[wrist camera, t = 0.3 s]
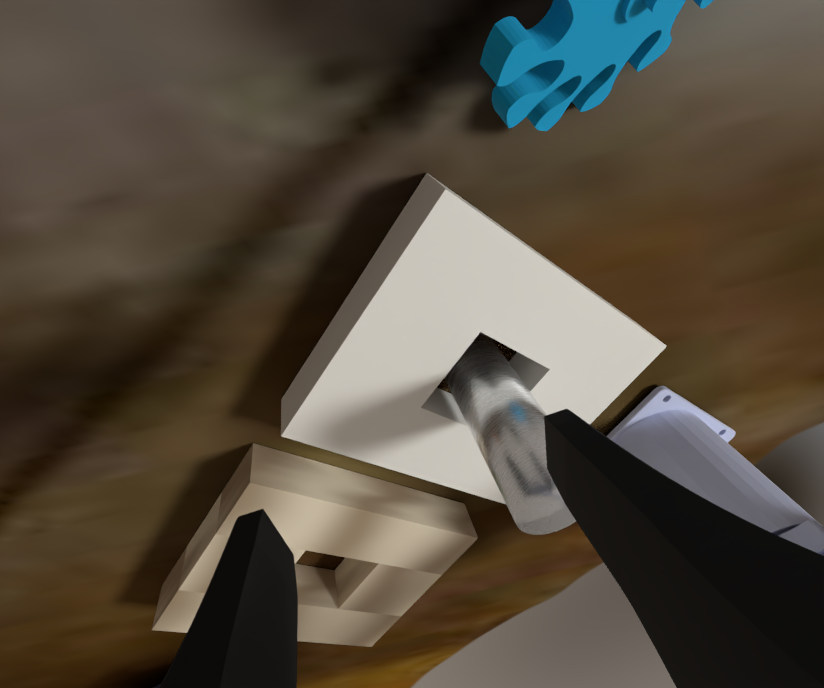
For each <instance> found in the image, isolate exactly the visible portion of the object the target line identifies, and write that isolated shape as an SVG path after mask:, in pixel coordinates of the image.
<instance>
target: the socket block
mask: <svg viewBox="0 0 824 688" xmlns="http://www.w3.org/2000/svg"><path fill="white" fill-rule="evenodd" d="M480 332H482V333H483V334H485V335H487V336H489V337H491V338H493V339H495V340H496V341H498V342H500V343H502V344H504V345H506V346H507V347H509V348H511V349H513V350H515V351H517V353H516V354H515V355H514V356H513V357H512V358H511V360H510V361H509V363H510V365H511V366H512V368H513V369H514V370H515V372H516V373H517V375H518V376H519V377H520V379H521V380H522V381H523V383H524V384H525V386H526V387H527V388H528V390H529V391H530V392H531V394H532V395H533V397H534V398H535V399H536V401H537V402H538V403H539V405H540V406H541V408H542V409H543V410H544V412H545V413H546V415H549V414H552V413H555V412H558V411H561V410H564V409H568V410H570V411H572V412H573V413H574V414H576V415H577V416H579V417H580V418H581V419H583V420H584V421H585V422H587V423H588V424H591V423H592V422H593V421H594V420H595V419H596V418H597V417H598V416H599V415H600V414H601V413H602V412H603V411H604V410H605V409H606V408H607V407H608V406H609V405H610V404H611V403H612V402H613V401H614V399H615V398H616V397H617V396H618V395H619V394H620V393H621V392H622V391H623V390H624V389H625V388H626V387H627V386H628V385H629V384H630V383H631V382H632V381H633V380H634V379H635V378H636V377H637V376H638V375H639V374H640V373H641V372H642V371H643V370H644V369H645V368H646V367H647V366H648V365H649V364H650V363H651V362H652V361H653V360H654V359H655V358H656V357H657V356H658V355H659V354H660V353H661V352H662V351H663V350H664V349H665V348H666V347H667V346H666V345H665V344H664V343H662V342H661V341H660V340H658V339H657V338H656V337H654V336H653V335H652V334H650V333H649V332H648V331H647V330H645V329H644V328H643V327H641V326H640V325H639V324H637V323H636V322H635V321H633V320H632V319H631V318H629V317H628V316H626V315H625V314H624V313H622V312H621V311H619V310H618V309H617V308H615V307H614V306H612V305H611V304H610V303H608V302H607V301H605V300H604V299H603V298H601V297H600V296H598V295H597V294H596V293H594V292H593V291H591V290H590V289H589V288H587V287H586V286H584V285H583V284H582V283H580V282H579V281H577V280H576V279H575V278H573V277H572V276H570V275H569V274H568V273H566V272H565V271H563V270H562V269H561V268H559V267H558V266H556V265H555V264H554V263H552V262H551V261H549V260H548V259H547V258H545V257H544V256H542V255H541V254H540V253H538V252H537V251H535V250H534V249H533V248H531V247H530V246H528V245H527V244H526V243H524V242H523V241H521V240H520V239H519V238H517V237H516V236H514V235H513V234H512V233H510V232H509V231H507V230H506V229H505V228H503V227H502V226H500V225H499V224H498V223H496V222H495V221H493V220H492V219H491V218H489V217H488V216H486V215H485V214H484V213H482V212H481V211H479V210H478V209H477V208H475V207H474V206H472V205H471V204H470V203H468V202H467V201H465V200H464V199H463V198H461V197H460V196H458V195H457V194H456V193H454V192H453V191H451V190H450V189H449V188H447V187H446V186H444V185H443V184H442V183H440V182H439V181H437V180H436V179H435V178H433V177H432V176H430V175H429V174H428V173H426V175H425V176H424V178H423V179H422V181H421V182H420V184H419V185H418V187H417V189H416V190H415V192H414V193H413V195H412V196H411V198H410V199H409V201H408V203H407V204H406V206H405V207H404V209H403V210H402V212H401V213H400V215H399V217H398V218H397V220H396V221H395V223H394V224H393V226H392V228H391V229H390V231H389V232H388V234H387V235H386V237H385V238H384V240H383V242H382V243H381V245H380V246H379V248H378V249H377V251H376V252H375V254H374V256H373V257H372V259H371V260H370V262H369V263H368V265H367V266H366V268H365V270H364V271H363V273H362V274H361V276H360V277H359V279H358V281H357V282H356V284H355V285H354V287H353V288H352V290H351V291H350V293H349V295H348V296H347V298H346V299H345V301H344V302H343V304H342V305H341V307H340V309H339V310H338V312H337V313H336V315H335V316H334V318H333V319H332V321H331V323H330V324H329V326H328V327H327V329H326V330H325V332H324V334H323V335H322V337H321V338H320V340H319V341H318V343H317V344H316V346H315V348H314V349H313V351H312V352H311V354H310V355H309V357H308V358H307V360H306V362H305V363H304V365H303V366H302V368H301V369H300V371H299V372H298V374H297V376H296V377H295V379H294V380H293V382H292V383H291V385H290V387H289V388H288V390H287V391H286V393H285V394H284V396H283V397H282V399H281V436H282V437H285V438H289V439H292V440H295V441H298V442H302V443H305V444H308V445H312V446H315V447H318V448H322V449H325V450H328V451H331V452H335V453H338V454H341V455H345V456H348V457H351V458H355V459H358V460H361V461H364V462H368V463H371V464H374V465H378V466H381V467H384V468H387V469H391V470H394V471H397V472H401V473H404V474H407V475H411V476H414V477H417V478H420V479H424V480H427V481H430V482H434V483H437V484H440V485H444V486H447V487H450V488H453V489H457V490H460V491H463V492H467V493H470V494H473V495H477V496H480V497H483V498H486V499H490V500H493V501H496V502H500V503H503V504H506V503H505V501H504V499H503V496H502V494H501V492H500V490H499V488H498V486H497V484H496V482H495V480H494V478H493V476H492V474H491V472H490V470H489V468H488V466H487V464H486V462H485V460H484V458H483V456H482V454H481V452H480V450H479V448H478V446H477V444H476V442H475V439H474V437H473V435H472V433H471V431H470V429H469V427H468V425H467V423H466V421H465V419H464V417H463V415H462V413H461V411H460V409H459V407H458V405H457V403H456V401H455V399H454V397H453V395H452V394H451V393H448V392H446V391H444V390H441V389H439V388H437V386H438V385H439V384H440V383H441V381H442V380H443V379H444V378H445V376H446V375H447V374H448V372H449V371H450V370H451V369H452V367H453V366H454V365H455V364H456V362H457V361H458V360H459V359H460V357H461V356H462V355H463V354H464V352H465V351H466V350H467V348H468V347H469V346H470V345H471V343H472V342H473V341H474V340H475V338H476V337H477V336H478V335H479V333H480Z"/></svg>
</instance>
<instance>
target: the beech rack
mask: <svg viewBox="0 0 824 688" xmlns="http://www.w3.org/2000/svg"><path fill="white" fill-rule="evenodd" d="M260 509H264V511H265V512H266V514H267V515H268V517H269V518H270V520H271V521H272V523H273V524H274V526H275V527H276V529H277V530H278V532H279V533H280V535H281V536H282V538H283V539H284V541H285V542H286V544H287V545H288V547H289V548H290V550H291V551H292V553H293V554H294V563H296V562H297V561H298V560H299V558H300V557H301V556H302V554H303V553H304V552H305V551H306V550H307V551H312V552H318V553H324V554H329V555H335V556H340V557H345V558H344V560H343V561H342V562H341V563H340V564H339V566H338V567H337V568H336V569H335V570H330V569H324V568H318V567H312V566H306V565H300V564H295V572H296V582H297V594H298V631H297V641H302V642H316V643H329V644H342V645H355V646H369V647H371V646H372V645H373V644H374V643H375V642H376V641H377V640H378V639H379V638H380V637H381V636H382V635H383V634H384V633H385V632H386V631H387V630H388V629H389V628H390V627H391V626H392V625H393V624H394V623H395V622H396V621H397V620H398V619H399V618H400V617H401V616H402V615H403V614H404V613H405V612H406V611H407V610H408V609H409V608H410V607H411V606H412V605H413V604H414V603H415V602H416V601H417V600H418V599H419V598H420V597H421V596H422V595H423V594H424V593H425V592H426V591H427V590H428V589H429V588H430V586H431V585H432V584H433V583H434V582H435V581H436V580H437V579H438V578H439V577H440V576H441V575H442V574H443V573H444V572H445V571H446V570H447V569H448V568H449V567H450V566H451V565H452V564H453V563H454V562H455V561H456V560H457V559H458V558H459V557H460V556H461V555H462V554H463V553H464V552H465V551H466V550H467V549H468V548H469V547H470V546H471V545H472V544H473V543H474V542H475V541H476V540H477V539H478V537H477V534H476V532H475V529H474V527H473V524H472V521H471V519H470V516H469V514H468V511H467V509H466V506H465V504H464V503H460V502H457V501H453V500H450V499H446V498H443V497H440V496H436V495H433V494H429V493H426V492H422V491H419V490H415V489H412V488H408V487H405V486H401V485H398V484H394V483H391V482H387V481H384V480H380V479H377V478H373V477H370V476H366V475H363V474H359V473H356V472H352V471H349V470H345V469H342V468H338V467H335V466H331V465H328V464H324V463H321V462H317V461H314V460H310V459H307V458H303V457H300V456H296V455H293V454H289V453H286V452H283V451H279V450H276V449H272V448H269V447H265V446H262V445H258V444H255V443H253V444H252V446H251V447H250V449H249V450H248V452H247V454H246V455H245V457H244V458H243V460H242V461H241V463H240V464H239V466H238V468H237V469H236V471H235V472H234V474H233V475H232V477H231V478H230V480H229V482H228V483H227V485H226V486H225V488H224V489H223V491H222V493H221V494H220V496H219V497H218V499H217V500H216V502H215V503H214V505H213V507H212V508H211V510H210V511H209V513H208V514H207V516H206V517H205V519H204V521H203V522H202V524H201V525H200V527H199V528H198V530H197V531H196V533H195V535H194V536H193V538H192V539H191V541H190V542H189V544H188V546H187V547H186V549H185V550H184V552H183V553H182V555H181V556H180V558H179V560H178V561H177V563H176V564H175V566H174V567H173V569H172V570H171V572H170V574H169V575H168V577H167V578H166V580H165V581H164V583H163V584H162V588H161V592H160V596H159V601H158V605H157V609H156V614H155V618H154V622H153V627H152V630H156V631H170V632H183V633H187V632H188V630H189V628H190V626H191V624H192V621H193V619H194V617H195V615H196V613H197V610H198V608H199V606H200V604H201V602H202V599H203V597H204V595H205V593H206V590H207V588H208V586H209V584H210V581H211V579H212V577H213V574H214V572H215V570H216V567H217V565H218V563H219V560H220V558H221V555H222V553H223V551H224V548H225V546H226V543H227V541H228V538H229V536H230V534H231V531H232V529H233V526H234V524H235V521H236V520H237V518H238V517H239V516H242V515H245V514H248V513H251V512H254V511H257V510H260Z"/></svg>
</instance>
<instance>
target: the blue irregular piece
mask: <svg viewBox="0 0 824 688" xmlns="http://www.w3.org/2000/svg"><path fill="white" fill-rule="evenodd" d="M685 1H686V0H553V3H552V5H551V7H550V9H549V11H548V12H547V14H546V15H545V16H544V18H543V19H542V20H541V21H540V22H539V23H538V24H537V25H535V26H534V27H532V28H530V29H527V30H526V29H525V28H524V27H523V26H522V25H521V24H520V22H519V21H518V20H517V19H516V18H515V17H513V16H508V17H505V18H503V19H501V20H499V21H498V22H497V23H496V24H495V25H494V26H493V28H492V30H491V32H490V34H489V36H488V38H487V41H486V43H485V46H484V49H483V53H482V57H481V61H480V65H481V66H482V67H483V69H484V70H485V71H486V72H487V74H488V75H489V76H490V77H491V79H492V80H493V81H494V82H495V84H496V86H495V88H494V89H493V91H492V105H493V107H494V110H495V111H496V112H497V114H498V115H499V116H500V117H501V119H502V120H503V121H504V123H505V124H506V125H507V126H508V128H512V127H514V126H515V125H517V124H518V123H519V122H521V121H522V120H523V119H524V118H525V117H526V116H527V118H528V119H529V120H530V121H531V123H532V124H533V125H534V126H535V128H536V129H537V130H540V131H547V130H549V129H550V128H551V127H552V126H553V125H554V124H555V123H556V122H557V121H558V120H559V119H560V118H561V116H562V115H563V113H564V112H565V110H566V109H567V107H568V106H569V105H570V103H571V102H573V104H574V105H575V106H576V107H577V108H578V110H579V111H580V112H584V111H587V110H589V109H591V108H593V107H595V106H597V105H599V104H601V102H602V101H603V100H604V99H605V98H606V97H607V96H608V94H609V93H610V91H611V89H612V86H613V83H614V81H615V79H616V77H617V75H618V74H619V72H620V70H621V69H622V68H623V66H624V65H625V63H626V62H627V61H629V63H630V64H631V65H632V66H633V67H634V68H635V69H636V70H637V72H638V71H640V70H642V69H643V68H645V67H646V66H648V65H649V64H650V63H652V62H653V61H654V60H655V59H657V58H658V57H659V56H660V55H662V54H663V53H664V52H665V51H666V49H667V48H668V47H669V45H670V43H671V41H672V38H671V36H670V31H671V27H672V25H673V22H674V20H675V18H676V16H677V14H678V13H679V11H680V9H681V8H682V6H683V4H684V2H685ZM694 1H695V2H696V3H697V5H698V6H699V7H700V8H705V7H706V6H708V5H709V4H710V3H711V2H712V1H713V0H694ZM531 68H532V69H531ZM528 70H529V71H528Z"/></svg>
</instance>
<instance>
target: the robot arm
mask: <svg viewBox="0 0 824 688" xmlns="http://www.w3.org/2000/svg"><path fill="white" fill-rule="evenodd" d="M544 424H545V441H546V459H547V470H548V472H549V474H550V476H551V478H552V480H553V482H554V484H555V486H556V487H557V489H558V491H559V493H560V495H561V497H562V499H563V501H564V503H565V504H566V506H567V508H568V509H569V511H570V512H571V514H572V515H573V517H574V518H575V520H576V521H577V523H578V524H579V526H580V527H581V529H582V530H583V532H584V533H585V535H586V536H587V538H588V539H589V541H590V542H591V544H592V545H593V547H594V548H595V550H596V551H597V553H598V554H599V556H600V557H601V559H602V560H603V562H604V563H605V565H606V566H607V568H608V569H609V571H610V572H611V574H612V575H613V577H614V578H615V579H616V581H617V583H618V584H619V586H620V587H621V589H622V590H623V592H624V593H625V595H626V597H627V598H628V600H629V602H630V603H631V605H632V606H633V608H634V610H635V612H636V614H637V615H638V617H639V619H640V621H641V623H642V624H643V626H644V628H645V630H646V632H647V634H648V635H649V637H650V639H651V641H652V642H653V644H654V646H655V648H656V649H657V652H658V654H659V655H660V657H661V659H662V661H663V663H664V665H665V667H666V669H667V670H668V672H669V674H670V676H671V678H672V680H673V682H674V683H675V685H676V687H677V688H824V526H822V525H820V524H819V523H818V522H817V521H816V520H815V519H814V518H812V517H811V516H810V515H809V514H808V513H807V512H806V511H805V510H803V509H802V508H801V507H800V506H799V505H798V504H797V503H795V502H794V501H793V500H792V499H791V498H790V497H789V496H787V495H786V494H785V493H784V492H783V491H782V490H781V489H779V488H778V487H777V486H776V485H775V484H774V483H773V482H772V481H770V480H769V479H768V478H767V477H766V476H765V475H763V474H762V473H761V472H760V471H759V470H758V469H757V468H755V467H754V466H753V465H752V464H751V463H750V462H749V461H748V460H746V459H745V458H744V457H743V456H742V455H741V454H740V453H739V452H737V451H736V450H735V449H734V448H733V447H732V446H731V445H729V444H728V442H729V441H730V440H731V439H732V438H733V437H734V436H735V431H734V430H733V429H731V428H730V427H728V426H727V425H725V424H724V423H722V422H720V421H719V420H717V419H716V418H714V417H713V416H711V415H709V414H708V413H706V412H705V411H703V410H701V409H700V408H698V407H697V406H695V405H693V404H692V403H690V402H689V401H687V400H685V399H684V398H682V397H681V396H679V395H678V394H676V393H674V392H673V391H671V390H670V389H668V388H666V387H665V386H659V387H656V388H655V389H654V390H653V391H652V392H651V393H650V394H649V395H648V396H647V397H646V398H645V399H644V400H643V401H642V402H641V403H640V404H639V405H638V406H637V407H636V408H635V409H634V410H633V411H632V412H630V413H629V414H628V415H627V416H626V417H625V418H624V419H623V420H622V421H621V422H620V423H619V424H618V425H617V426H616V427H615V428H614V429H613V430H612V431H611V432H610V433H609V434H608V435H607V436H605V435H603V434H602V433H601V432H599V431H598V430H596V429H595V428H594V427H592V426H591V425H590V424H588V423H587V422H585V421H584V420H583V419H581V418H580V417H579V416H577V415H576V414H574V413H573V412H572V411H570V410H568V409H564V410H561V411H558V412H555V413H552V414H549V415H546V416H544ZM297 631H298V594H297V582H296V572H295V563H294V554H293V553H292V551H291V550H290V548H289V547H288V545H287V544H286V542H285V541H284V539H283V538H282V536H281V535H280V533H279V532H278V530H277V529H276V527H275V526H274V524H273V523H272V521H271V520H270V518H269V517H268V515H267V514H266V512H265V511H264V509H260V510H257V511H254V512H251V513H248V514H245V515H242V516H239V517H238V518H237V520H236V521H235V524H234V526H233V529H232V531H231V534H230V536H229V538H228V541H227V543H226V546H225V548H224V551H223V553H222V555H221V558H220V560H219V563H218V565H217V567H216V570H215V572H214V574H213V577H212V579H211V581H210V584H209V586H208V588H207V590H206V593H205V595H204V597H203V599H202V602H201V604H200V606H199V608H198V610H197V613H196V615H195V617H194V619H193V621H192V624H191V626H190V628H189V630H188V632H187V634H186V636H185V638H184V640H183V642H182V644H181V646H180V648H179V650H178V652H177V654H176V656H175V658H174V660H173V662H172V664H171V666H170V668H169V670H168V672H167V674H166V676H165V678H164V680H163V681H162V683H161V685H160V687H159V688H296V681H297Z"/></svg>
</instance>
